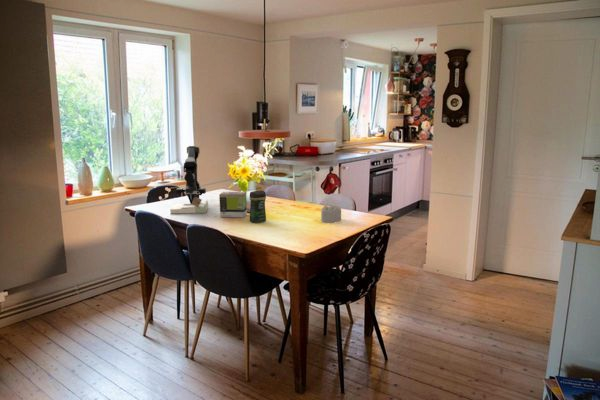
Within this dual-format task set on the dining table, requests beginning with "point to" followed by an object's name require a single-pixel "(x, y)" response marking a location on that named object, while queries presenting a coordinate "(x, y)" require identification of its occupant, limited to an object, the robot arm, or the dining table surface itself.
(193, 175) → the robot arm
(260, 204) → the coffee jar
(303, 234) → the dining table surface
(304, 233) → the dining table surface
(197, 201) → the walnut block
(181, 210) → the trap board
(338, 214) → the lumpy-topped squat cylinder
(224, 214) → the retro computer monitor
